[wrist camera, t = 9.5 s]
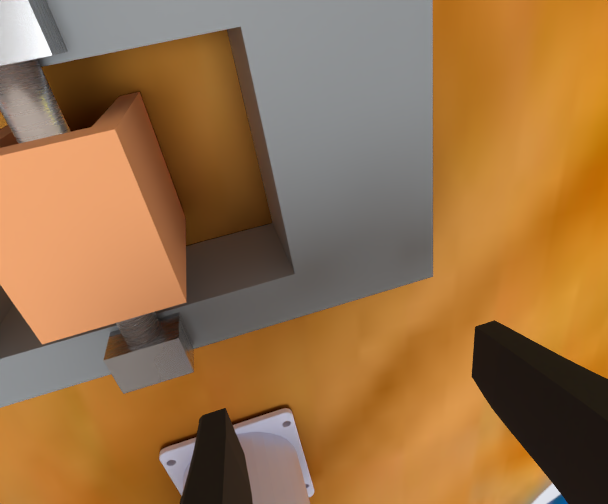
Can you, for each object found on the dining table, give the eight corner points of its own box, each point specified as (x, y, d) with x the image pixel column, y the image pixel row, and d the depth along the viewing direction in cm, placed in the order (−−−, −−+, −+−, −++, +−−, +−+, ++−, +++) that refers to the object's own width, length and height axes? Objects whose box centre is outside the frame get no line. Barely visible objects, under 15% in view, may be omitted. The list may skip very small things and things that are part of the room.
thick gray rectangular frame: (386, 229, 20) (452, 295, 15) (-88, 363, 18) (-197, 497, 13) (365, -70, 14) (464, -122, 9) (-375, 61, 11) (-820, 91, 6)
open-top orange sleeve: (185, 218, 17) (186, 302, 12) (86, 244, 16) (42, 344, 11) (139, 91, 14) (114, 129, 9) (19, 118, 14) (-78, 173, 9)
